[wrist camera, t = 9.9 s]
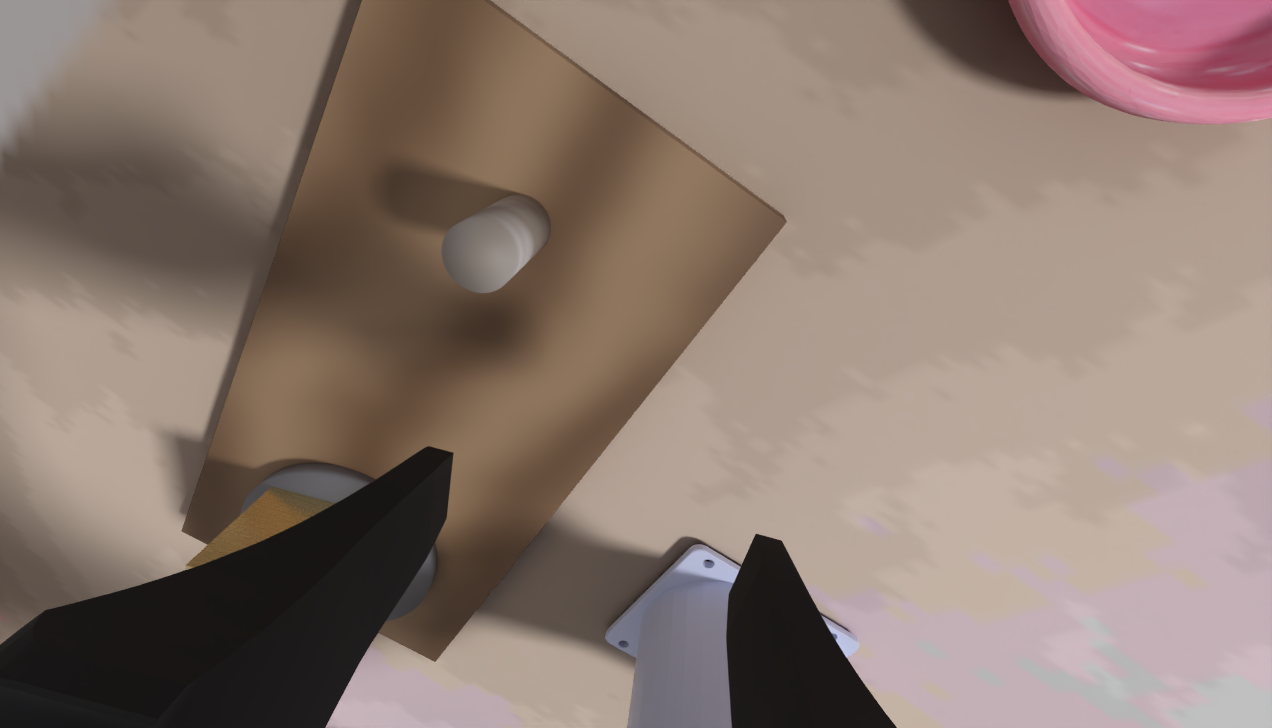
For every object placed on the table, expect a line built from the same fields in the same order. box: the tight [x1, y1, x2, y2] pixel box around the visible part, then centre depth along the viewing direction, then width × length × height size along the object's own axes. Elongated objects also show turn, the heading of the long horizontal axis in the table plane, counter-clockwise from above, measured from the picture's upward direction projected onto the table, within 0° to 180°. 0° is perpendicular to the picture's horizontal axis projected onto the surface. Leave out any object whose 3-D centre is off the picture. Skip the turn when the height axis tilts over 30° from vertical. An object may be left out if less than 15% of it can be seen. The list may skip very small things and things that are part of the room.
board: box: [182, 0, 787, 662], centre depth 21 cm, size 14×28×5 cm, turn 147°
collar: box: [186, 487, 335, 570], centre depth 24 cm, size 6×6×4 cm
